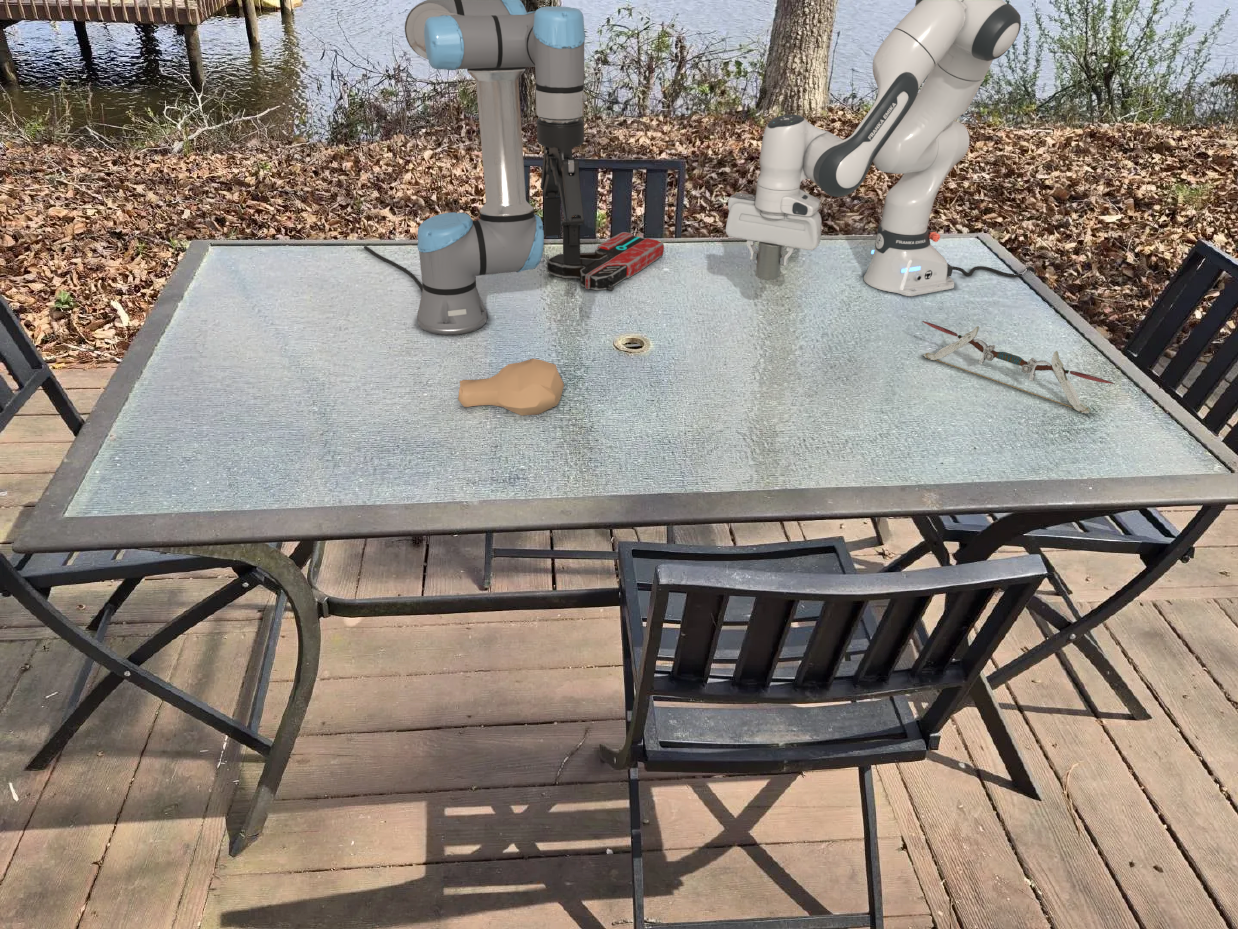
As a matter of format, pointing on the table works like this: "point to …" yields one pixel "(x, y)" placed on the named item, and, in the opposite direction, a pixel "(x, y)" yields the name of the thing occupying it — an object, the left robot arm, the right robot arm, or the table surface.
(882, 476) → the table surface
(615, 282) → the gun
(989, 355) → the bow
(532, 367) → the squash
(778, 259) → the can
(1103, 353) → the table surface
